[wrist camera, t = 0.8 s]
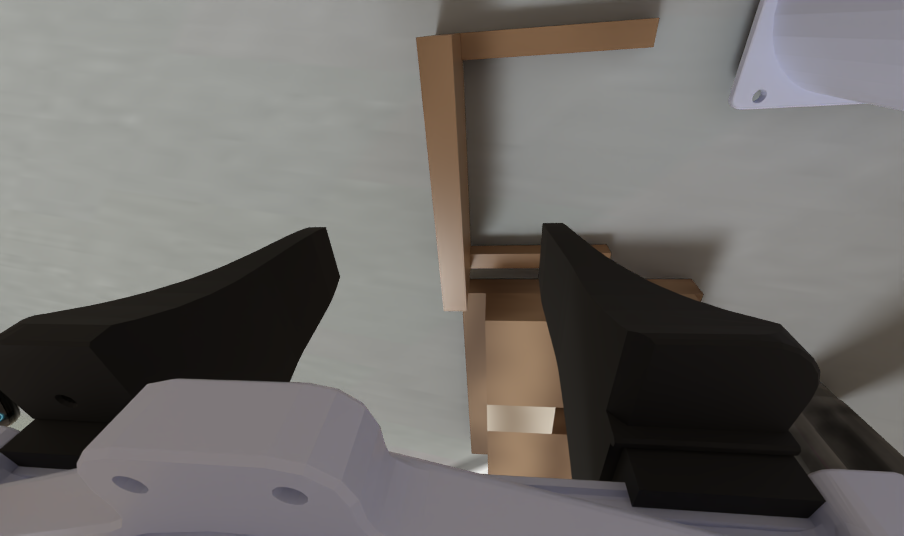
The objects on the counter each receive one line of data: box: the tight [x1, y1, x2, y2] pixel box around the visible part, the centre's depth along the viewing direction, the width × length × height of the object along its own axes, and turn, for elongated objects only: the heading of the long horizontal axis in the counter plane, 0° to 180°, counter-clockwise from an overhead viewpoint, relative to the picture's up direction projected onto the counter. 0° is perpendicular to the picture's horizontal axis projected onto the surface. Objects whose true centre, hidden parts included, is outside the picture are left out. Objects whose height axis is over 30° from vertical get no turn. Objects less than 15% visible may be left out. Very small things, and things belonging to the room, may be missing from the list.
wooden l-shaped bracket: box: [416, 18, 659, 311], centre depth 17 cm, size 9×12×5 cm
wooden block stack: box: [463, 279, 704, 479], centre depth 26 cm, size 14×18×6 cm
